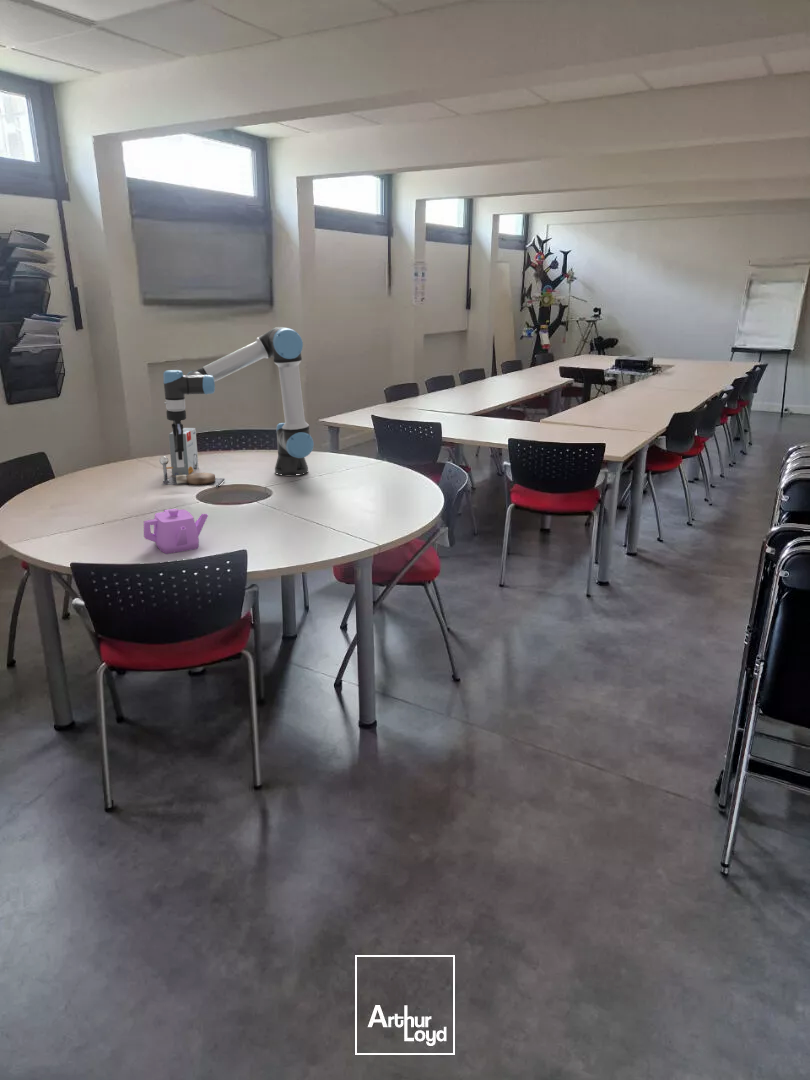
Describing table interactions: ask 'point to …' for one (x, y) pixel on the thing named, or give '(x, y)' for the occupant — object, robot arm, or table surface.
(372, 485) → the table surface
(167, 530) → the teakettle
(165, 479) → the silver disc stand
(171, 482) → the dark grey rectangular plate
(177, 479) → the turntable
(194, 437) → the hard drive box
